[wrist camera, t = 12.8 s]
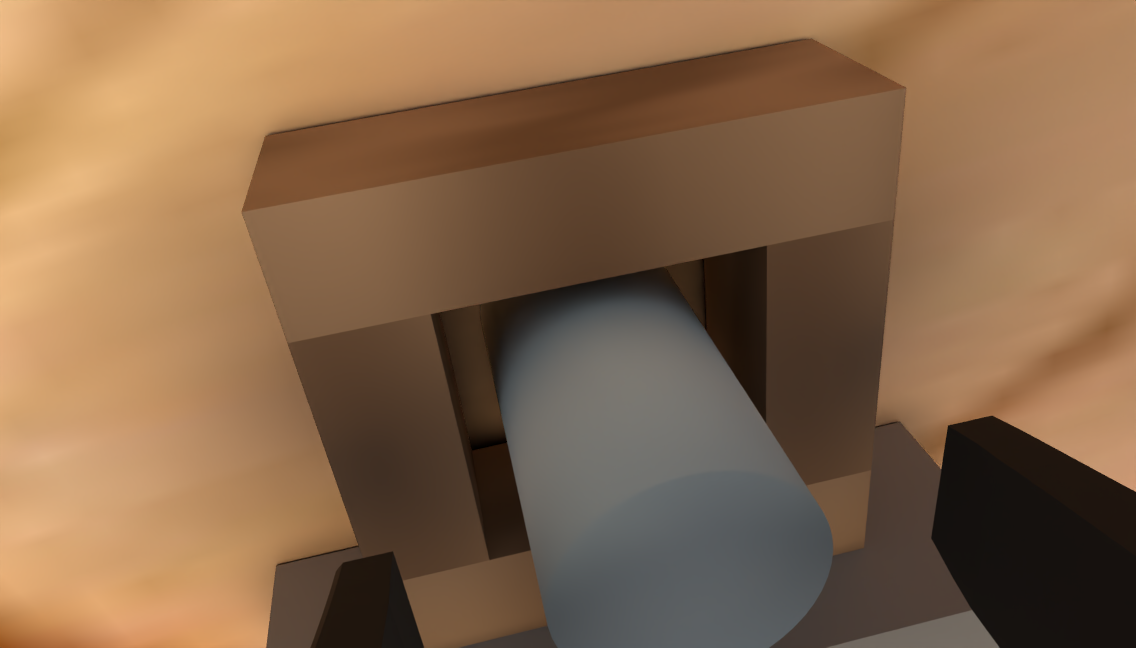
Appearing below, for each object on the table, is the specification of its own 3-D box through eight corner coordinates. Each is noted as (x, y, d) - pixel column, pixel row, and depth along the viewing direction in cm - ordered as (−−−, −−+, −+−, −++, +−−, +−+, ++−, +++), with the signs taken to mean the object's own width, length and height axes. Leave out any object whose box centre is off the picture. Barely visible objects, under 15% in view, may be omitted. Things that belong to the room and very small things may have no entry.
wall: (900, 422, 20) (1046, 590, 15) (892, 487, 21) (1028, 661, 16) (276, 565, 18) (247, 796, 14) (303, 627, 19) (284, 859, 15)
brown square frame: (811, 38, 14) (906, 88, 12) (798, 450, 19) (864, 547, 17) (265, 136, 13) (240, 212, 11) (395, 543, 18) (399, 662, 16)
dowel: (657, 197, 15) (835, 437, 10) (674, 360, 17) (831, 642, 12) (461, 242, 15) (520, 517, 9) (500, 403, 17) (569, 714, 11)
